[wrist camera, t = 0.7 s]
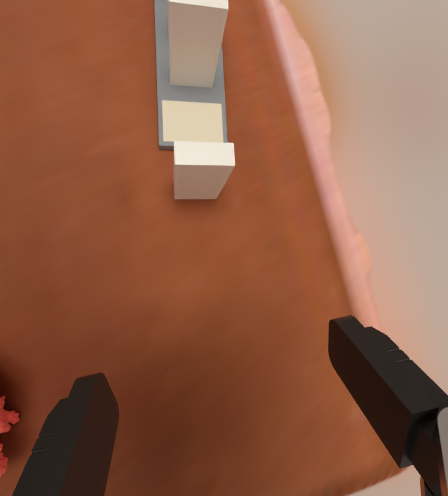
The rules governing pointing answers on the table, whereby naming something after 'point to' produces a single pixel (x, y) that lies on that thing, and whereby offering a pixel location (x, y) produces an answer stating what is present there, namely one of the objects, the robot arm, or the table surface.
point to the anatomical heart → (5, 430)
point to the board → (186, 97)
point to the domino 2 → (201, 168)
